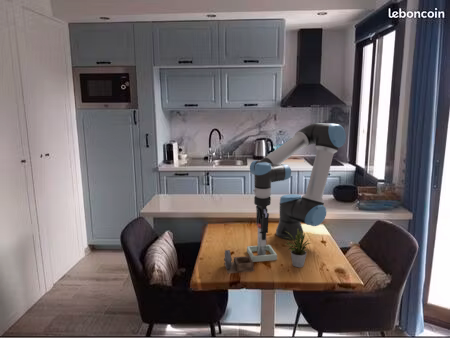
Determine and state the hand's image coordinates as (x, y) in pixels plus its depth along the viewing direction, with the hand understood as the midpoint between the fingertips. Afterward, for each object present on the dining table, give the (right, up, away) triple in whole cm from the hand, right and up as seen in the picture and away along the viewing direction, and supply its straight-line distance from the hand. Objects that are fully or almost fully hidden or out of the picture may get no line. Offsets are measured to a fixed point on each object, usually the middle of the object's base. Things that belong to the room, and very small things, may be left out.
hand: (261, 243), depth 161 cm
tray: (0, -7, +1) cm, 8 cm away
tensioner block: (-11, -10, -10) cm, 18 cm away
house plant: (+16, -9, -4) cm, 18 cm away
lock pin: (0, -5, +1) cm, 5 cm away
